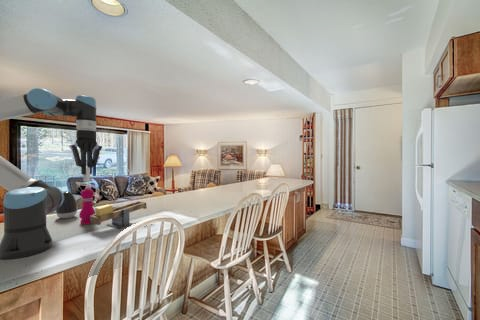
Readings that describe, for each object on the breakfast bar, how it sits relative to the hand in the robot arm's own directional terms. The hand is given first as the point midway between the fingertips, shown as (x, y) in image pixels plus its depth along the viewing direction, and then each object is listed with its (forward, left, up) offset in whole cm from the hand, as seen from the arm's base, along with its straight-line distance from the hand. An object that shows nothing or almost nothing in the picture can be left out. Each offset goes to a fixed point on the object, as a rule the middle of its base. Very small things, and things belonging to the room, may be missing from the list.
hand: (86, 181), depth 103 cm
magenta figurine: (+9, +19, -25) cm, 32 cm away
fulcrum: (+16, 0, -24) cm, 29 cm away
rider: (+8, 0, -17) cm, 19 cm away
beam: (+16, 0, -19) cm, 25 cm away
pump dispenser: (+8, +41, -25) cm, 48 cm away
